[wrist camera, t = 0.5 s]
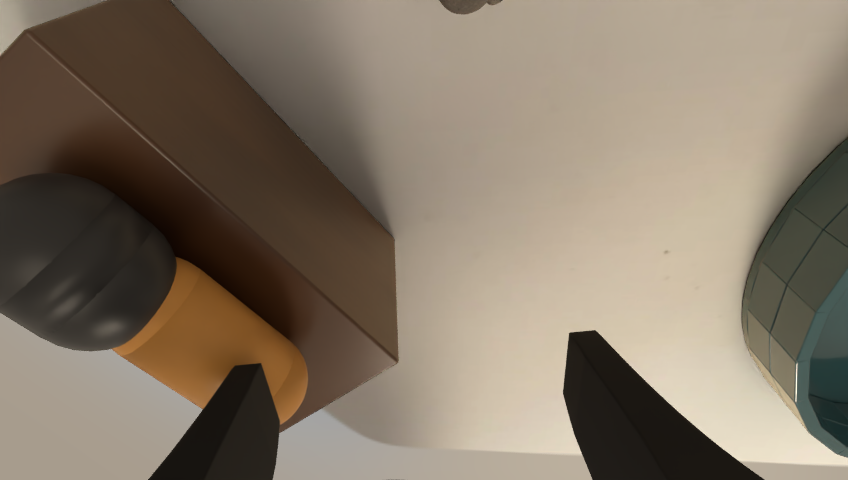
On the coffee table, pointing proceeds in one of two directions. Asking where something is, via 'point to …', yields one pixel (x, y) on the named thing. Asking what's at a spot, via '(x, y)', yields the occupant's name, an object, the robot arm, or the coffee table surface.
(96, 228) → the microphone
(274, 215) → the block
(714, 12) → the coffee table surface
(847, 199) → the bowl
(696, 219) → the coffee table surface
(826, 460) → the coffee table surface
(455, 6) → the dog figurine
